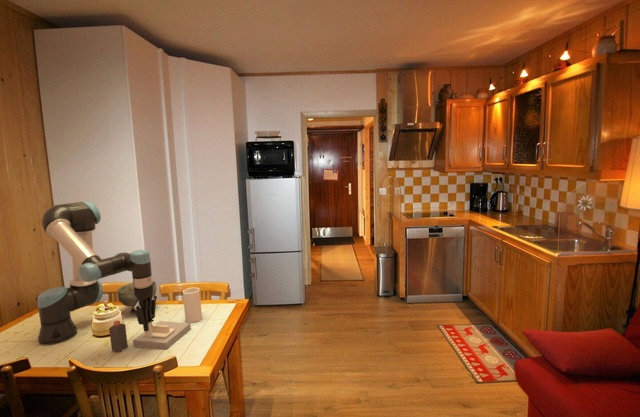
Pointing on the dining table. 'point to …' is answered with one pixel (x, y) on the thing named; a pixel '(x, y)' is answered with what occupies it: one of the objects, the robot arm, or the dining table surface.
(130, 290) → the bowl
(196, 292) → the cup
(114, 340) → the dark grey bottle
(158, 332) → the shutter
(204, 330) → the dining table surface
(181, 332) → the socket board
